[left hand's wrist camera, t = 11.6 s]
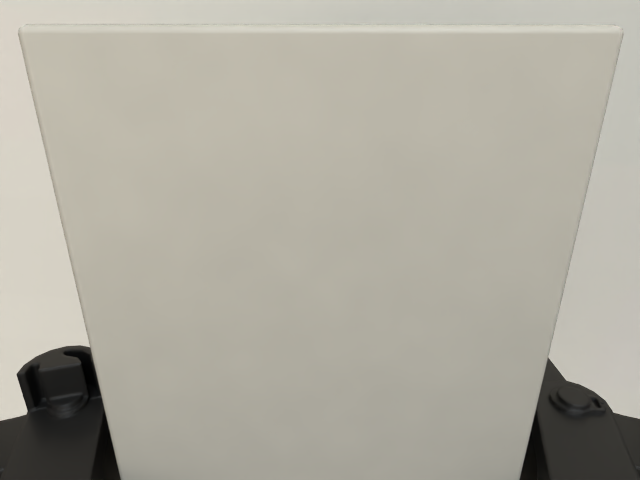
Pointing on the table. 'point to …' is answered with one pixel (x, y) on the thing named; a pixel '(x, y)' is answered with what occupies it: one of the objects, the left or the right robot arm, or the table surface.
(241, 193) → the beam
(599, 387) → the table surface
